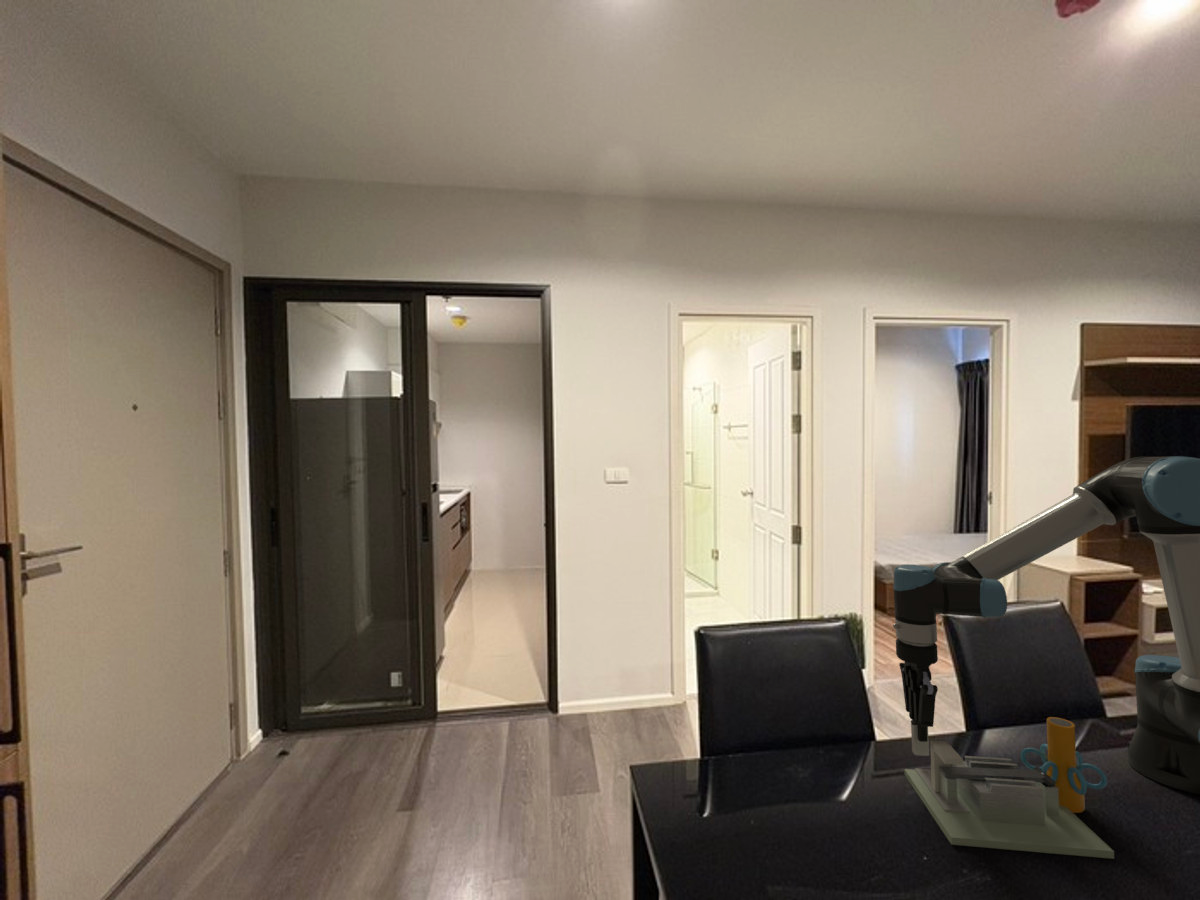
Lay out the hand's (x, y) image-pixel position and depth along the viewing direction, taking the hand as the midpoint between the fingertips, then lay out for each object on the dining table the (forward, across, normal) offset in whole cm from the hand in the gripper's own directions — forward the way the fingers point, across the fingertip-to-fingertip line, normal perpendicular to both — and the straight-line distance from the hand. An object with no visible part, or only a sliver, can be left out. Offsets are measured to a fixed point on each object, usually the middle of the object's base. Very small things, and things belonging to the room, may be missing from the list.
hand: (920, 753), depth 112 cm
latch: (+2, +12, 0) cm, 12 cm away
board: (+3, +13, +8) cm, 15 cm away
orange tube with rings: (+3, +9, +21) cm, 23 cm away
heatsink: (+2, +13, +8) cm, 15 cm away
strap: (-3, +13, +8) cm, 15 cm away
